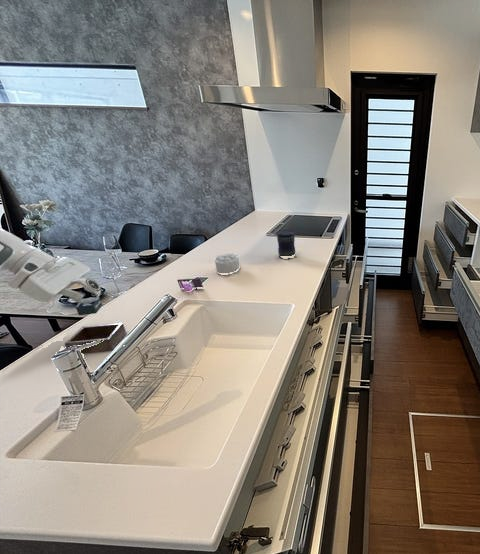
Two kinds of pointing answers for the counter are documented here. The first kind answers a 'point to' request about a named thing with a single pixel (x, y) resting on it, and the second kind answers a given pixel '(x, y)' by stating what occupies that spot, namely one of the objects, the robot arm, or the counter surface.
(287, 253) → the storage jar
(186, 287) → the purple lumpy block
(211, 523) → the counter surface
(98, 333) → the box
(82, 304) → the watch
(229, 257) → the lumpy-topped squat cylinder
